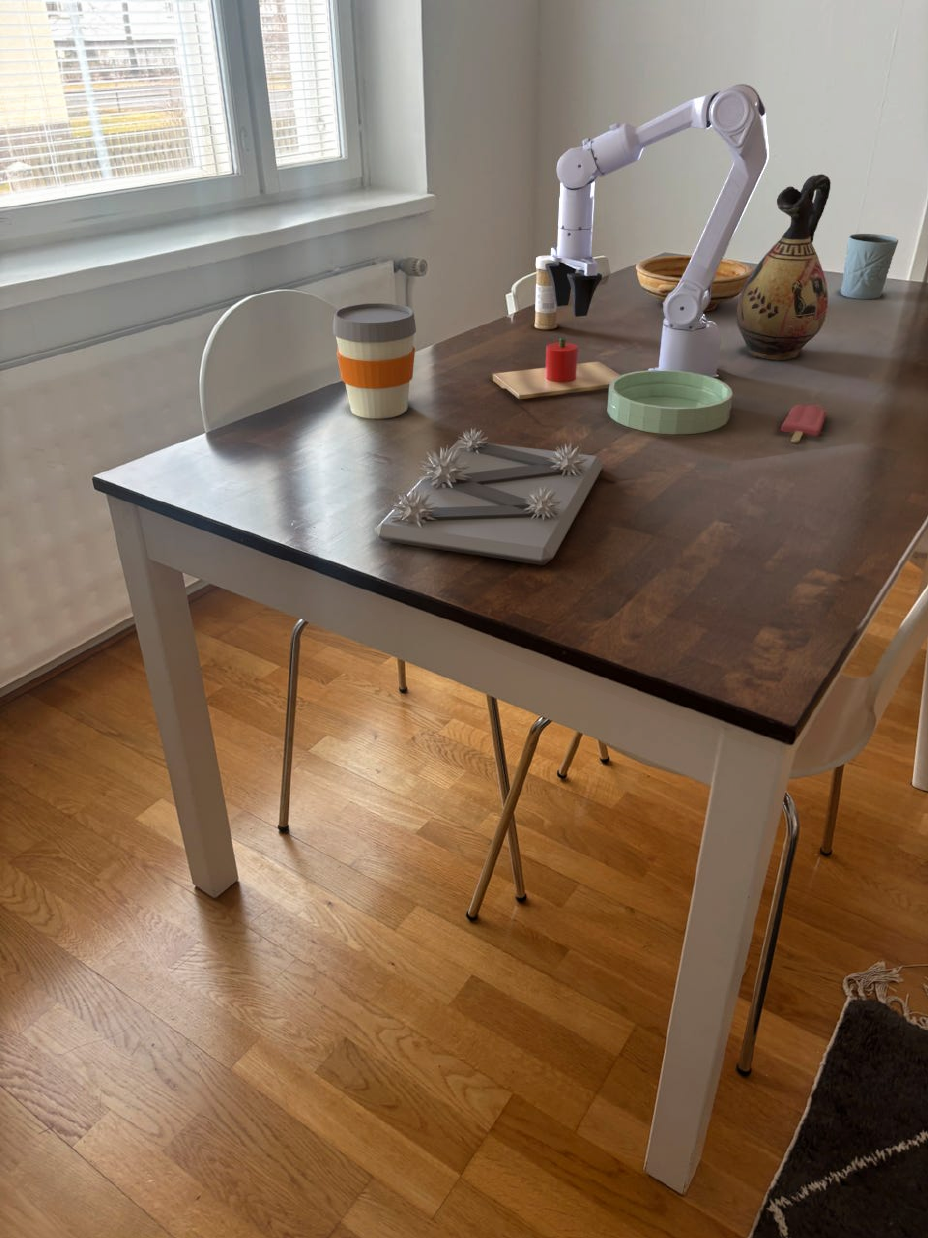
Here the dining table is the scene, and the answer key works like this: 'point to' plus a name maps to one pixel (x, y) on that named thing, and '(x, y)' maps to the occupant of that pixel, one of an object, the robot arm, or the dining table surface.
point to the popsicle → (804, 421)
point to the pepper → (561, 361)
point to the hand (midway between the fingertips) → (571, 310)
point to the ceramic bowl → (668, 271)
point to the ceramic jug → (787, 281)
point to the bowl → (669, 402)
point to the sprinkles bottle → (544, 296)
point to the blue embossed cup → (867, 265)
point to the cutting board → (538, 385)
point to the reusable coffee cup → (376, 356)
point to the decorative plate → (494, 500)
